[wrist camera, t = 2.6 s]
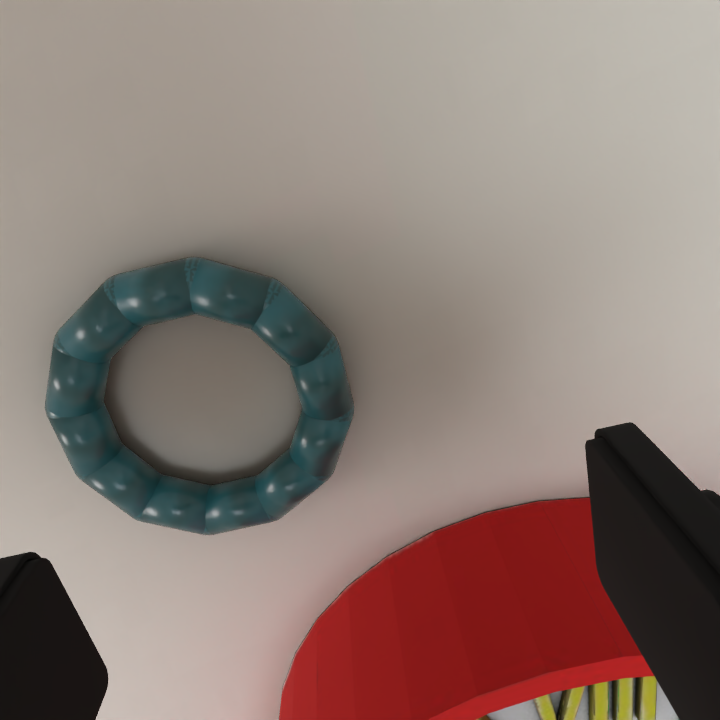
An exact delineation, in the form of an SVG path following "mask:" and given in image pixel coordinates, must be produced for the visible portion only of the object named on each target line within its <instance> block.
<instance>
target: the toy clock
mask: <svg viewBox="0 0 720 720" xmlns="http://www.w3.org/2000/svg"><path fill="white" fill-rule="evenodd" d="M279 720H679V718H678V716H677V715H676V713H675V711H674V709H673V708H672V706H671V704H670V702H669V701H668V699H667V697H666V695H665V694H664V692H663V690H662V689H661V687H660V685H659V683H658V682H657V680H656V678H655V676H654V675H653V673H652V671H651V670H650V668H649V666H648V664H647V663H646V661H645V659H644V657H643V656H642V654H641V652H640V650H639V649H638V647H637V645H636V644H635V642H634V640H633V638H632V637H631V635H630V633H629V631H628V630H627V628H626V626H625V624H624V623H623V621H622V619H621V618H620V616H619V614H618V612H617V611H616V609H615V607H614V605H613V604H612V602H611V600H610V598H609V597H608V595H607V593H606V592H605V590H604V588H603V586H602V584H601V581H600V578H599V575H598V572H597V567H596V558H595V547H594V536H593V526H592V515H591V504H590V498H577V499H563V500H549V501H537V502H533V503H528V504H524V505H519V506H514V507H510V508H505V509H500V510H496V511H491V512H486V513H483V514H480V515H478V516H475V517H472V518H469V519H467V520H464V521H461V522H458V523H456V524H453V525H450V526H448V527H445V528H442V529H439V530H437V531H434V532H432V533H430V534H428V535H426V536H425V537H423V538H421V539H419V540H417V541H415V542H413V543H412V544H410V545H408V546H406V547H404V548H402V549H400V550H399V551H397V552H395V553H393V554H391V555H389V556H388V557H386V558H385V559H383V560H382V561H381V562H379V563H378V564H377V565H376V566H374V567H373V568H372V569H370V570H369V571H368V572H366V573H365V574H364V575H362V576H361V577H360V578H358V579H357V580H356V581H354V582H353V583H352V584H350V585H349V586H348V587H347V588H346V589H345V590H344V591H343V592H342V593H341V594H340V595H339V596H338V598H337V599H336V600H335V601H334V602H333V603H332V604H331V605H330V606H329V607H328V608H327V609H326V610H325V611H324V612H323V613H322V615H321V616H320V617H319V618H318V619H317V620H316V622H315V623H314V625H313V626H312V628H311V630H310V631H309V633H308V634H307V636H306V638H305V639H304V641H303V642H302V644H301V645H300V647H299V649H298V650H297V652H296V653H295V656H294V658H293V661H292V664H291V667H290V669H289V672H288V675H287V678H286V680H285V683H284V686H283V689H282V698H281V707H280V716H279Z"/></svg>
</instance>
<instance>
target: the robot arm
mask: <svg viewBox="0 0 720 720" xmlns="http://www.w3.org/2000/svg"><path fill="white" fill-rule="evenodd" d="M585 450H586V461H587V472H588V483H589V493H590V504H591V515H592V526H593V536H594V547H595V558H596V567H597V572H598V575H599V578H600V581H601V584H602V586H603V588H604V590H605V592H606V593H607V595H608V597H609V598H610V600H611V602H612V604H613V605H614V607H615V609H616V611H617V612H618V614H619V616H620V618H621V619H622V621H623V623H624V624H625V626H626V628H627V630H628V631H629V633H630V635H631V637H632V638H633V640H634V642H635V644H636V645H637V647H638V649H639V650H640V652H641V654H642V656H643V657H644V659H645V661H646V663H647V664H648V666H649V668H650V670H651V671H652V673H653V675H654V676H655V678H656V680H657V682H658V683H659V685H660V687H661V689H662V690H663V692H664V694H665V695H666V697H667V699H668V701H669V702H670V704H671V706H672V708H673V709H674V711H675V713H676V715H677V716H678V718H679V720H720V496H719V495H718V494H716V493H715V492H714V491H710V490H703V491H700V490H699V489H698V488H697V487H696V486H695V485H694V484H693V483H692V482H691V481H690V480H689V479H688V478H687V477H686V476H685V475H684V474H683V473H682V472H681V471H680V470H679V469H678V468H677V466H676V465H675V464H674V463H673V462H672V461H671V460H670V459H669V458H668V457H667V456H666V455H665V454H664V453H663V452H662V451H661V450H660V449H659V448H658V447H657V446H656V445H655V444H654V443H653V442H652V441H651V440H650V439H649V438H648V437H647V436H646V435H645V434H644V433H643V432H642V431H641V430H640V429H639V428H638V427H637V426H636V425H635V424H633V423H630V422H629V423H624V424H620V425H615V426H610V427H606V428H601V429H597V430H596V431H595V439H592V440H587V441H586V444H585ZM107 686H108V673H107V669H106V666H105V664H104V662H103V660H102V658H101V656H100V655H99V653H98V651H97V649H96V647H95V645H94V643H93V641H92V639H91V638H90V636H89V634H88V632H87V630H86V628H85V626H84V624H83V622H82V621H81V619H80V617H79V615H78V613H77V611H76V609H75V607H74V605H73V604H72V602H71V600H70V598H69V596H68V594H67V592H66V590H65V588H64V586H63V585H62V583H61V581H60V579H59V577H58V575H57V573H56V571H55V569H54V568H53V566H52V564H51V563H50V561H49V560H47V559H46V558H41V557H40V556H39V555H38V554H36V553H34V552H28V553H23V554H19V555H14V556H9V557H5V558H1V559H0V720H95V719H96V716H97V714H98V711H99V709H100V706H101V703H102V701H103V698H104V696H105V693H106V690H107Z"/></svg>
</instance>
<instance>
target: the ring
mask: <svg viewBox="0 0 720 720" xmlns="http://www.w3.org/2000/svg"><path fill="white" fill-rule="evenodd" d="M194 314H197V315H201V316H204V317H208V318H212V319H215V320H219V321H223V322H227V323H230V324H234V325H238V326H241V327H245V328H249V329H251V330H252V331H253V332H254V333H256V334H257V335H258V336H259V337H260V338H261V339H262V340H263V341H264V342H265V343H266V344H267V345H268V346H270V347H271V348H272V349H273V350H274V351H275V352H276V353H277V354H278V355H279V356H280V357H281V358H282V359H284V360H285V361H286V362H287V363H288V364H289V365H290V368H291V372H292V375H293V379H294V382H295V385H296V389H297V392H298V396H299V399H300V402H301V406H302V411H301V414H300V417H299V421H298V424H297V427H296V430H295V434H294V437H293V440H292V443H291V447H290V448H289V449H288V450H287V451H285V452H284V453H283V454H282V455H281V456H280V457H278V458H277V459H276V460H275V461H274V462H273V463H271V464H270V465H269V466H268V467H267V468H266V469H264V470H263V471H262V472H261V473H260V474H259V475H257V476H252V477H248V478H243V479H239V480H234V481H229V482H225V483H220V484H216V485H207V484H202V483H198V482H193V481H189V480H184V479H180V478H175V477H171V476H166V475H162V474H160V473H159V472H158V471H157V470H155V469H154V468H153V467H151V466H150V465H149V464H148V463H146V462H145V461H144V460H142V459H141V458H140V457H139V456H137V455H136V454H135V453H133V452H132V451H131V450H129V449H128V448H127V447H126V446H124V445H123V444H122V442H121V440H120V438H119V436H118V433H117V431H116V429H115V426H114V424H113V422H112V420H111V417H110V415H109V413H108V411H107V408H106V406H105V404H104V396H105V390H106V384H107V378H108V372H109V367H110V361H111V358H112V357H113V356H114V355H115V354H116V353H117V352H118V351H119V350H120V349H121V348H122V347H123V346H124V345H125V344H126V343H127V342H128V341H129V340H130V339H131V338H132V337H133V336H134V335H135V334H136V333H137V332H138V331H139V330H140V329H141V328H142V327H143V326H147V325H151V324H155V323H160V322H164V321H168V320H172V319H177V318H181V317H185V316H190V315H194ZM45 410H46V414H47V417H48V419H49V421H50V423H51V425H52V427H53V429H54V431H55V433H56V435H57V437H58V439H59V441H60V443H61V445H62V447H63V449H64V452H65V454H66V456H67V458H68V460H69V462H70V464H71V466H72V468H73V470H74V472H75V474H76V475H77V476H78V477H79V478H80V479H81V480H82V481H83V482H85V483H86V484H87V485H89V486H90V487H91V488H93V489H94V490H95V491H97V492H98V493H100V494H101V495H102V496H104V497H105V498H106V499H108V500H109V501H111V502H112V503H113V504H115V505H116V506H117V507H119V508H120V509H121V510H123V511H124V512H126V513H127V514H128V515H130V516H131V517H132V518H134V519H136V520H138V521H141V522H146V523H150V524H155V525H160V526H165V527H169V528H174V529H179V530H184V531H188V532H193V533H198V534H203V535H214V534H219V533H223V532H228V531H233V530H237V529H242V528H246V527H251V526H256V525H260V524H265V523H269V522H273V521H277V520H279V519H280V518H282V517H283V516H284V515H286V514H287V513H288V512H289V511H290V510H292V509H293V508H294V507H295V506H297V505H298V504H299V503H300V502H301V501H303V500H304V499H305V498H306V497H307V496H309V495H310V494H311V493H312V492H314V491H315V490H316V489H317V488H318V487H320V486H321V485H322V484H323V483H325V482H326V481H327V480H328V479H329V478H330V477H331V475H332V474H333V472H334V470H335V467H336V464H337V461H338V458H339V455H340V452H341V449H342V446H343V444H344V441H345V438H346V435H347V432H348V429H349V426H350V423H351V420H352V417H353V414H354V403H353V399H352V395H351V391H350V387H349V383H348V379H347V375H346V371H345V367H344V364H343V360H342V356H341V352H340V348H339V344H338V341H337V339H336V337H335V335H334V334H333V333H332V332H331V331H330V330H329V329H328V328H327V327H326V326H325V325H324V324H323V323H322V322H321V321H320V320H319V319H318V318H317V317H316V316H315V315H314V314H313V313H312V312H311V311H310V310H309V309H308V308H307V307H306V306H305V305H304V304H303V303H302V302H301V301H300V300H299V299H298V298H297V297H296V296H295V295H294V294H293V293H292V292H290V291H289V290H288V289H287V288H286V287H285V286H284V285H283V284H282V283H281V282H279V281H278V280H276V279H273V278H271V277H267V276H264V275H260V274H257V273H253V272H250V271H246V270H243V269H239V268H236V267H232V266H229V265H225V264H222V263H218V262H214V261H211V260H207V259H204V258H199V257H189V258H184V259H180V260H176V261H171V262H167V263H163V264H159V265H154V266H150V267H146V268H142V269H137V270H133V271H129V272H125V273H120V274H117V275H114V276H112V277H110V278H109V279H107V280H106V281H105V282H104V283H103V284H102V285H101V286H100V287H99V288H98V290H97V291H96V292H95V293H94V294H93V295H92V296H91V297H90V298H89V299H88V300H87V301H86V302H85V303H84V304H83V305H82V306H81V307H80V308H79V309H78V310H77V311H76V312H75V314H74V315H73V316H72V317H71V318H70V319H69V320H68V321H67V322H66V323H65V324H64V325H63V326H62V327H61V328H60V329H59V331H58V332H57V333H56V335H55V338H54V342H53V348H52V356H51V363H50V371H49V379H48V386H47V394H46V401H45Z"/></svg>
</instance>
